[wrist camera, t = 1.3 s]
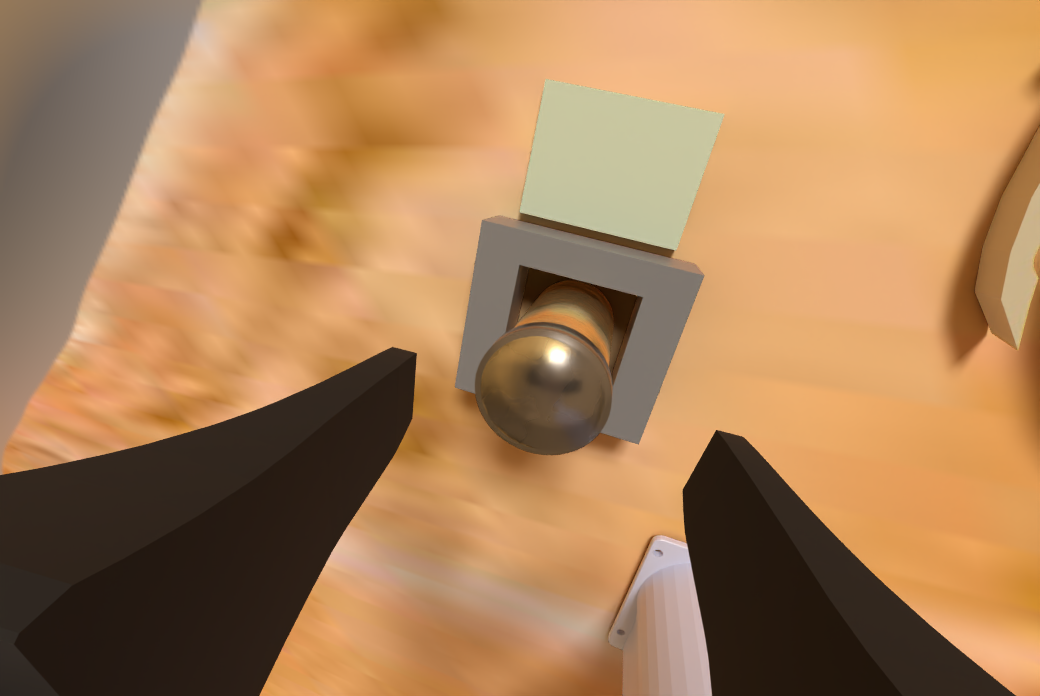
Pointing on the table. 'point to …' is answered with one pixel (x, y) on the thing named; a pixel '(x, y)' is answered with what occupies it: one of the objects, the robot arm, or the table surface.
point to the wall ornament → (1012, 251)
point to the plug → (551, 372)
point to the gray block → (649, 276)
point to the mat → (617, 162)
